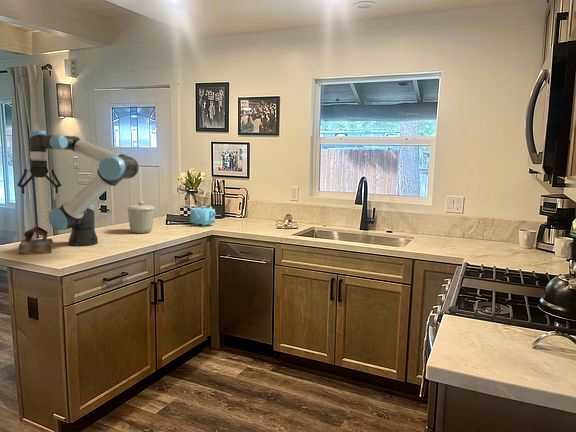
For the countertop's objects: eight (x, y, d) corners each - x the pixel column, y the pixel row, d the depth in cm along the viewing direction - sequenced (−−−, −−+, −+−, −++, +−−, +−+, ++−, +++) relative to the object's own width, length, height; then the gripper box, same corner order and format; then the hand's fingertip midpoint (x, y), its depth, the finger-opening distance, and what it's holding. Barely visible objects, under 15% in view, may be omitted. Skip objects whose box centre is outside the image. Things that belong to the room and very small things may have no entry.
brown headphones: (31, 239, 224) (39, 225, 225) (45, 248, 223) (53, 234, 224) (15, 237, 212) (24, 223, 213) (29, 247, 211) (39, 232, 212)
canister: (127, 229, 287) (127, 199, 284) (155, 229, 293) (155, 199, 290) (126, 234, 270) (125, 202, 267) (155, 234, 276) (155, 202, 273)
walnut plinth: (52, 247, 227) (52, 238, 226) (51, 253, 215) (51, 243, 214) (22, 248, 221) (21, 239, 220) (18, 254, 209) (18, 245, 208)
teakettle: (216, 227, 314) (217, 207, 312) (191, 227, 307) (191, 207, 305) (211, 223, 331) (212, 204, 329) (187, 223, 324) (187, 204, 322)
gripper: (64, 160, 234) (65, 198, 237) (10, 159, 221) (13, 199, 224) (65, 160, 227) (67, 199, 230) (10, 159, 214) (12, 200, 217)
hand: (40, 199), depth 227 cm, fingers open, 13 cm apart
